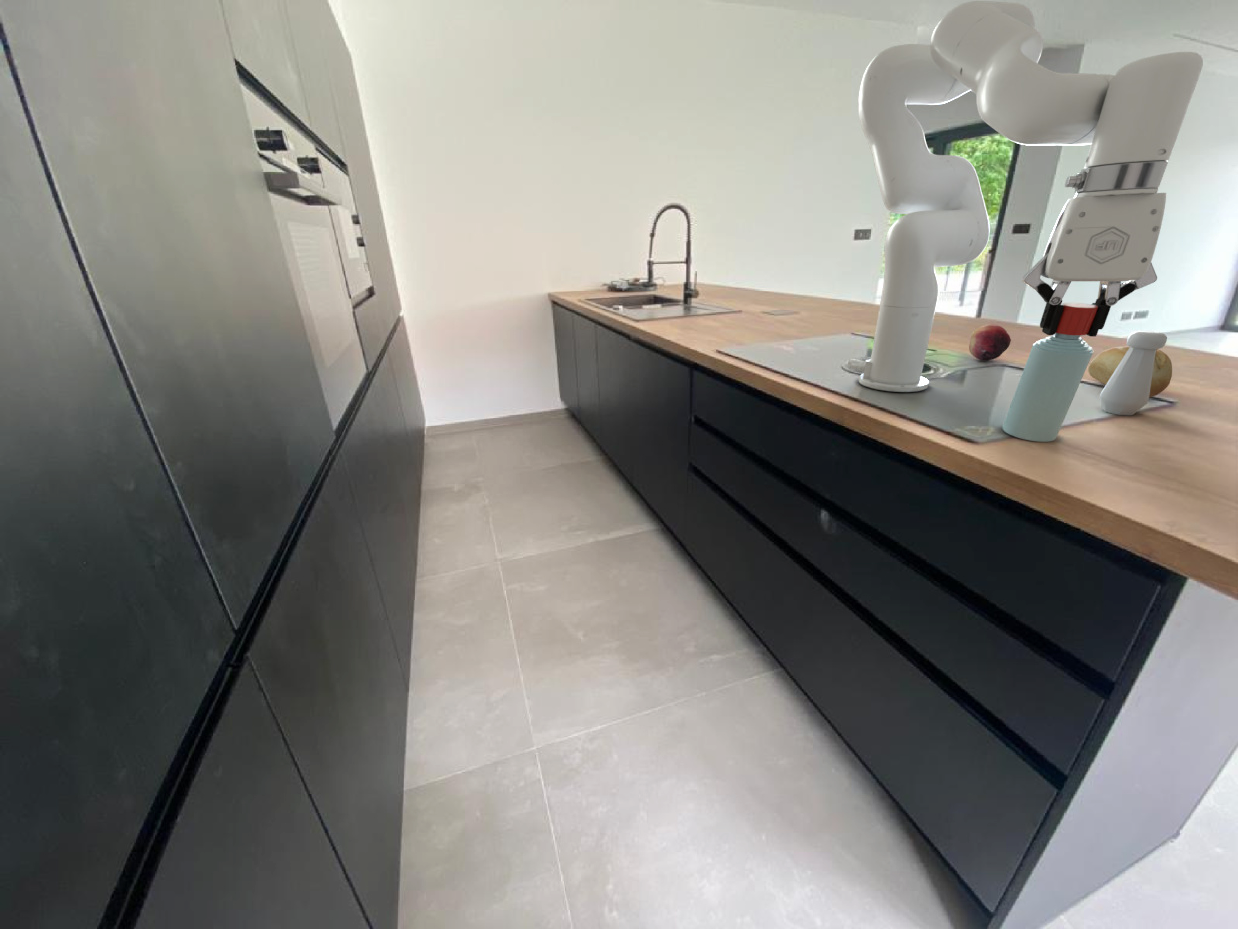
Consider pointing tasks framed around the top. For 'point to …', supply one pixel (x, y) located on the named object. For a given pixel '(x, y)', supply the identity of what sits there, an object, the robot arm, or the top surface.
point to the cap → (1076, 318)
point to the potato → (1111, 358)
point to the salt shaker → (1132, 375)
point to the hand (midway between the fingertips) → (1068, 332)
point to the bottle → (1047, 387)
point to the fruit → (989, 342)
